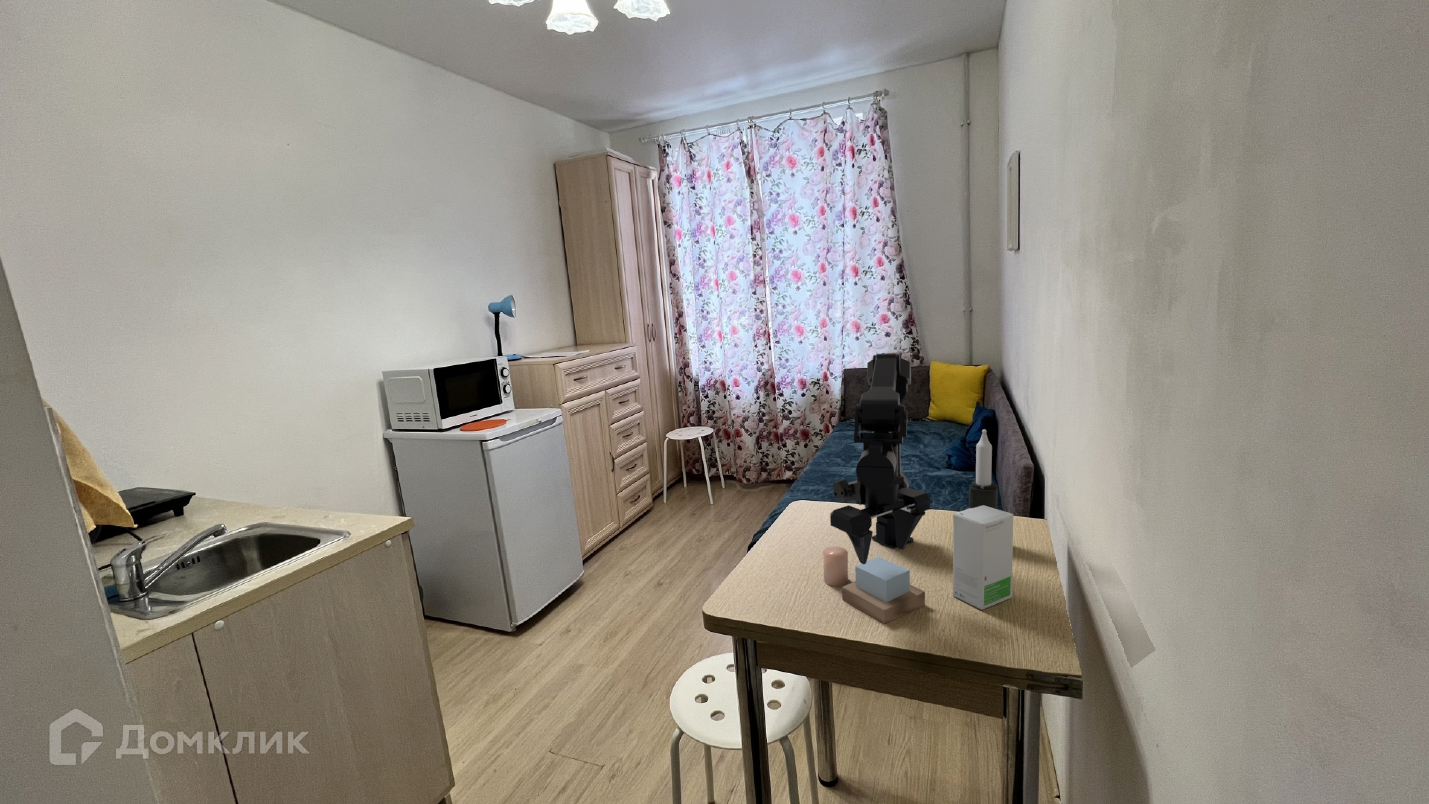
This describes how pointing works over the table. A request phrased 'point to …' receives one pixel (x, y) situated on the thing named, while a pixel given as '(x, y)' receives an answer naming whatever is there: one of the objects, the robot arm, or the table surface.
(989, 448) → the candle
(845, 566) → the peach rounded capsule
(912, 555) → the table surface
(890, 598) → the block
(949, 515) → the table surface
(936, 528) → the table surface
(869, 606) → the base slab
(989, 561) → the skincare box
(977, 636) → the table surface
